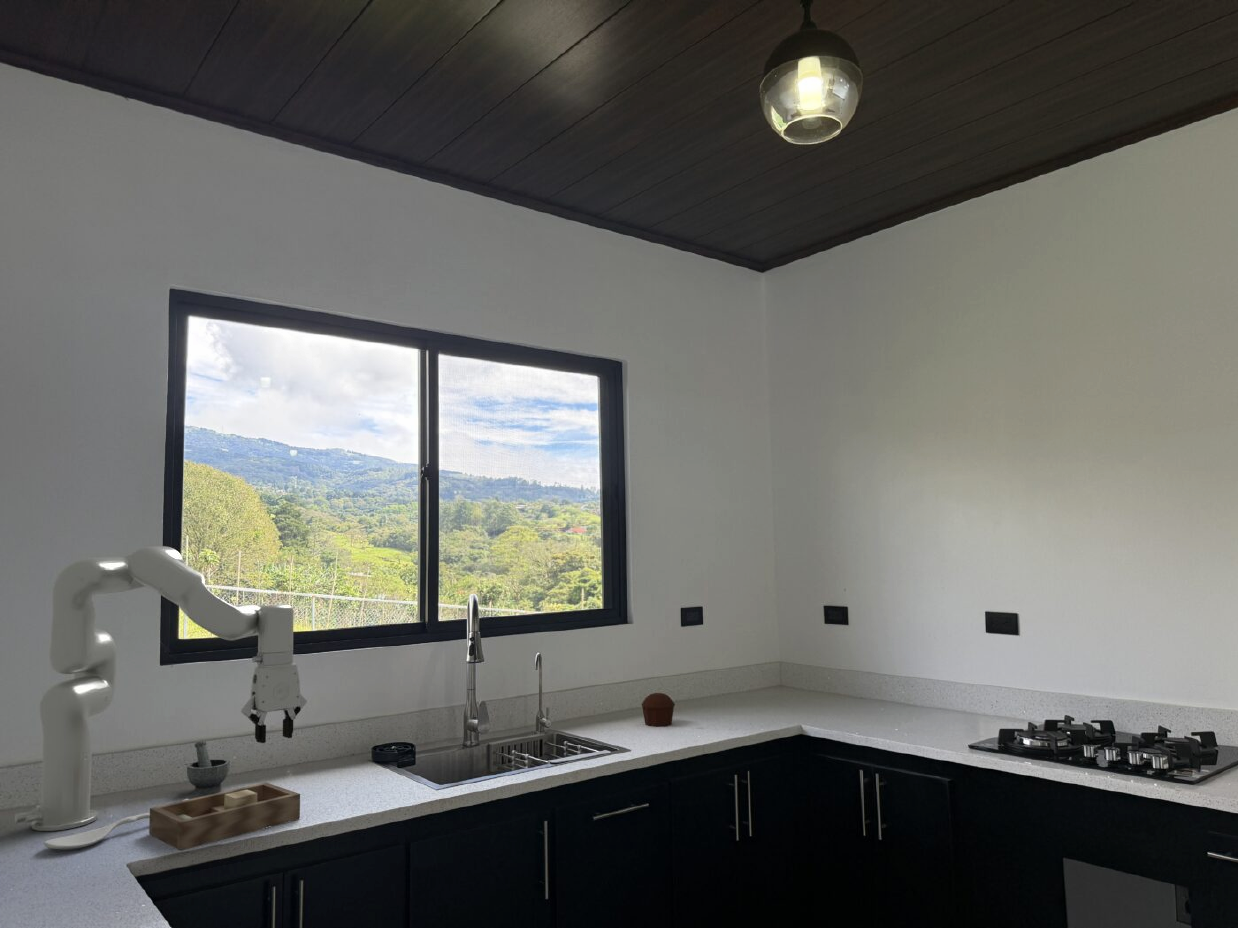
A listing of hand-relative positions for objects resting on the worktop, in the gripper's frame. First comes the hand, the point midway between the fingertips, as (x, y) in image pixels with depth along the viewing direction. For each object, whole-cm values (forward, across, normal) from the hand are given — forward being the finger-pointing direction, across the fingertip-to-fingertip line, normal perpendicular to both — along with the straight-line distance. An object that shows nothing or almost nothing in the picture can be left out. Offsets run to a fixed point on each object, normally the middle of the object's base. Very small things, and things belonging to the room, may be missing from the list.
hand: (274, 738), depth 201 cm
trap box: (+18, -10, +2) cm, 20 cm away
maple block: (+15, -8, 0) cm, 16 cm away
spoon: (+18, -25, +16) cm, 35 cm away
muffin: (+18, +132, -4) cm, 134 cm away
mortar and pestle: (+18, 0, +36) cm, 40 cm away
